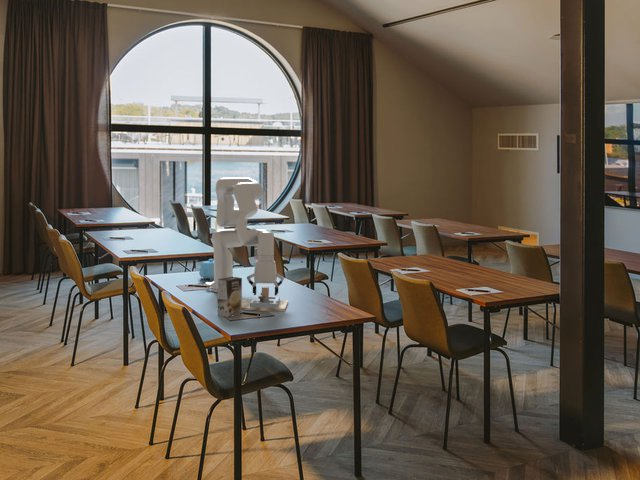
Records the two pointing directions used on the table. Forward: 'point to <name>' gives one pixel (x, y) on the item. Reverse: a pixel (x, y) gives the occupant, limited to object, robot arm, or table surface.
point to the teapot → (207, 269)
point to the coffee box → (229, 296)
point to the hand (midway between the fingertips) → (265, 294)
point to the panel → (265, 300)
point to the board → (280, 307)
